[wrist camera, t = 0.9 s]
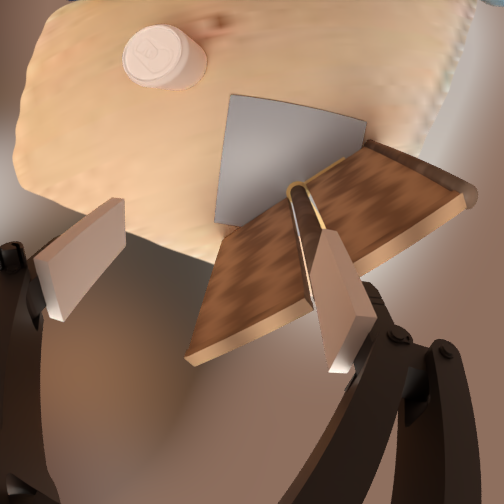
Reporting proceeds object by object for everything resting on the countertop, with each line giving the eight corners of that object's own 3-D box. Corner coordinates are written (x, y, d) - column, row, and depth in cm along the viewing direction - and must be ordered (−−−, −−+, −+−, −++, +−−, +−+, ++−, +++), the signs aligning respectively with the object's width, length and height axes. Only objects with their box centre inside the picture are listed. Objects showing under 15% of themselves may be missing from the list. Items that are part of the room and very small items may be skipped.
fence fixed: (295, 202, 44) (323, 312, 21) (286, 190, 43) (307, 291, 20) (378, 149, 39) (487, 208, 16) (371, 136, 38) (481, 181, 15)
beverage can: (181, 101, 38) (151, 100, 27) (145, 71, 35) (106, 63, 25) (219, 62, 35) (201, 45, 24) (181, 32, 32) (151, 9, 22)
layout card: (231, 94, 37) (230, 94, 36) (366, 121, 37) (367, 122, 37) (214, 221, 46) (214, 222, 46) (335, 241, 47) (336, 242, 46)
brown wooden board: (286, 195, 43) (304, 298, 21) (291, 203, 43) (313, 310, 21) (221, 239, 47) (183, 358, 25) (227, 245, 47) (194, 366, 25)
